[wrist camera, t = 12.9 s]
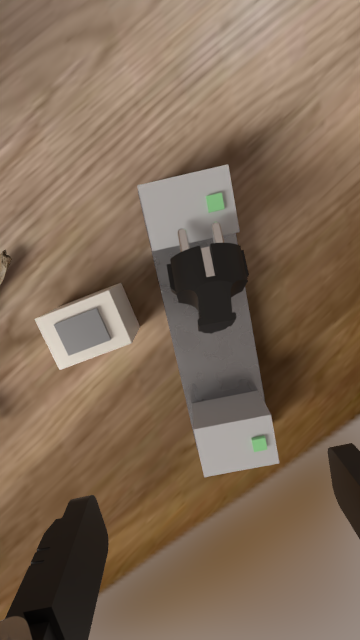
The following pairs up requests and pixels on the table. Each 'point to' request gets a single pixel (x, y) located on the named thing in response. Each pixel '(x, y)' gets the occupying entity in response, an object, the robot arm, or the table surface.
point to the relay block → (89, 326)
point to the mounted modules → (196, 217)
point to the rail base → (209, 341)
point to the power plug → (208, 278)
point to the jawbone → (4, 264)
